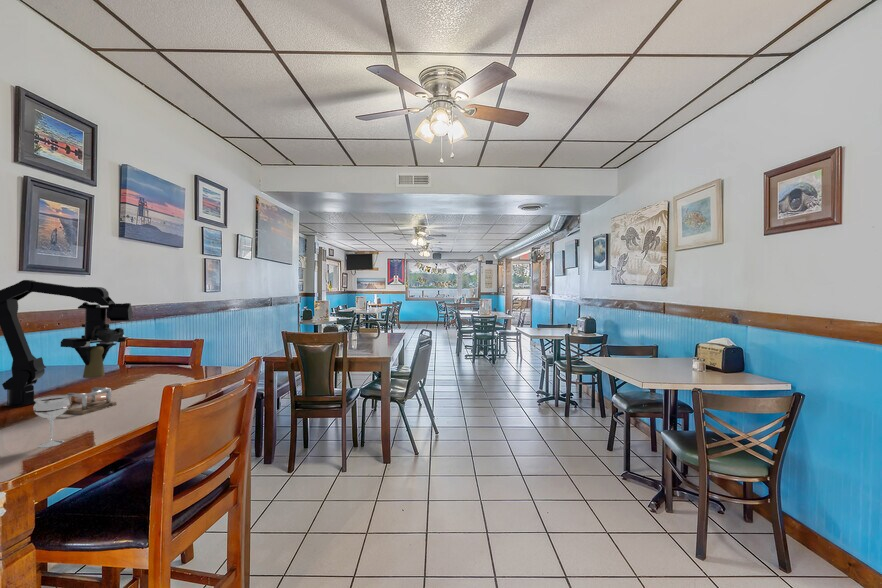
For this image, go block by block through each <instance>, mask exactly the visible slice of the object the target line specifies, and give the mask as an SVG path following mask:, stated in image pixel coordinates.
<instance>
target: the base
mask: <svg viewBox="0 0 882 588" xmlns="http://www.w3.org/2000/svg"><path fill="white" fill-rule="evenodd" d="M113 405H114V406H117V401H111V403H106V400H103V401H96V402H91V401H90V402H87V410H82V407H75V406H71V408H70V409H68V410H66V411H65V412H64V413H63V414H74V415H86V413H87V414H90V413H93V412H96V410H97V411H100V410H104V409H106V407H107V408H110V407H109V406H111V407H114V406H113ZM103 408H104V409H103Z"/></svg>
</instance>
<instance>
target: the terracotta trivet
mask: <svg viewBox="0 0 882 588" xmlns="http://www.w3.org/2000/svg"><path fill="white" fill-rule="evenodd" d="M111 396H112V393H111ZM105 399H106V393H102V394H98V395H96V401H101V400H103V401H106V400H105ZM90 401H91V396H90V397H87V402H90ZM74 402H75V403H79V404H82V398H80V397H74Z"/></svg>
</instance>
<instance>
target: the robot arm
mask: <svg viewBox="0 0 882 588" xmlns="http://www.w3.org/2000/svg"><path fill="white" fill-rule="evenodd" d="M31 293H38V294H46V295H47V294H48V295H54V296H61V297H62V296H65V297H70V298H74V299H76V300H80V301H83V303H81V305H79V306H78V307H77V309H78V310H85V315H84V317H85V318H84V323H82V324H81V328H84V334H83V335H81V337H69V338H68V337H66V338H62V339H61V341H60V348H61V347H62V348H72V349H74V350H75V351H76V353H78V356H79V357H80V358H81V360H82V361H83V363H84V366H85V365H89V363H90V351H91V349H92V348H93V346H94V345H91V344H96V345H95V346H102V347H103V348H104V353H103V354H102V359H103V362H104V360H105V358H106V357H107V354H108V353H109V351H110V349H111V348H112V347H113V346H116V345H117V343H125V342H126V336H125V334H124V333H125V332H124V328H122V327H116V328H114V329H113V328H110V325H109V323H107V319H108V320H109V321H111V322H131V321H132V320H133V313H134V312H133V309H132V306H131V305H132V304H131V302H124V303H117V302H115V301H114V300H113V299H112V298H111V297H110V295H109V291H108V290H107V289H106V288H105V287H100V286H71V285H65V284H64V285H63V284H56V283H50V282H43V281H42V282H41V281H36V280H33V279H22V280H21V281H19V282H16V283H15V284H12V285H9V286H8V287H5V288H2V289H0V331H1V332H2V335H3V338H4V341H5V343H6V345H7V348H8V350H9V353H10V355H11V358H12V363H11V369H10V371H11V375H12V376H11V377H10V378H8V379H7V380H6V381H4V382H3V383H1V386H2V387H3V389H4V390H5V391H6V392H7V397H6V403H3V404H1V405H0V406H1V407H8V408H19V407H25V406H28V405H33V404H36V402H35V401H34V399H35V386H34V385H35V384H37V383H38V380H39V379H40V378H42V377H43V376H44V374H45V373H46V371H45V369H47V366H46V365H45V364H44V358H42V357H35V356H34V354H33V353H32V352H31V349H30V346H29V343H28V340H27V338H26V335H25V333H24V330H23V327H22V326H21V323H20V321H19V317H18V310H19V301H20V300H22V299H24V298H25V297H27V296H28V295H29V294H31Z"/></svg>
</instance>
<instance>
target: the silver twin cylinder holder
mask: <svg viewBox="0 0 882 588" xmlns="http://www.w3.org/2000/svg"><path fill="white" fill-rule="evenodd" d="M90 390H91V391H90V392H88V393H77V392H76V393H75V392H68V393H67V394H66V395H70V396H69V398H68V400H69V401H70V405H69V408H68V409H70V408H71V407H72V398H76V397H80V398H82V403H81V408H82V410H87V407H88V406H87V397H90V396H91V402H96V395H98V394H102V393H106V400H105V401H106V403H111V402H112V397H111V394H112V389H111V388H110V387H96V386H95V387H92V388H91V389H90Z"/></svg>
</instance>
